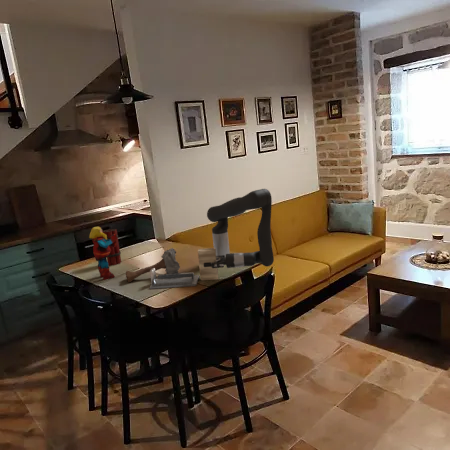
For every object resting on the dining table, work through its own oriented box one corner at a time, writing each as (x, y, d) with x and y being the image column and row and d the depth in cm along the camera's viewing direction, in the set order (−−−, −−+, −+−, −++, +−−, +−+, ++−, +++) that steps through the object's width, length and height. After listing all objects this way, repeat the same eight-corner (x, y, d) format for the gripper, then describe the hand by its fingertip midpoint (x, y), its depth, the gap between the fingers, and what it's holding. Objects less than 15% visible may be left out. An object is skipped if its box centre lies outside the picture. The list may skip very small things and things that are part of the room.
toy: (126, 276, 231) (119, 225, 225) (100, 283, 223) (92, 230, 217) (118, 270, 243) (111, 222, 237) (93, 277, 236) (85, 226, 230)
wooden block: (201, 277, 218) (198, 249, 214) (218, 276, 217) (215, 247, 214) (200, 280, 214) (197, 251, 211) (217, 279, 213) (214, 249, 210)
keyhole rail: (155, 279, 222) (153, 265, 220) (199, 276, 220) (197, 262, 218) (149, 289, 208) (147, 274, 206) (196, 285, 206) (194, 270, 204)
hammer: (128, 282, 230) (179, 266, 236) (130, 292, 221) (183, 275, 227) (121, 260, 223) (173, 244, 229) (122, 269, 214) (177, 252, 220)
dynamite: (104, 263, 261) (97, 218, 255) (117, 260, 267) (111, 215, 260) (111, 266, 254) (104, 219, 247) (124, 262, 259) (117, 216, 253)
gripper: (235, 249, 219) (205, 251, 220) (234, 257, 205) (202, 259, 206) (236, 263, 220) (206, 265, 221) (235, 271, 206) (203, 273, 208)
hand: (204, 262), depth 214 cm, fingers open, 8 cm apart
